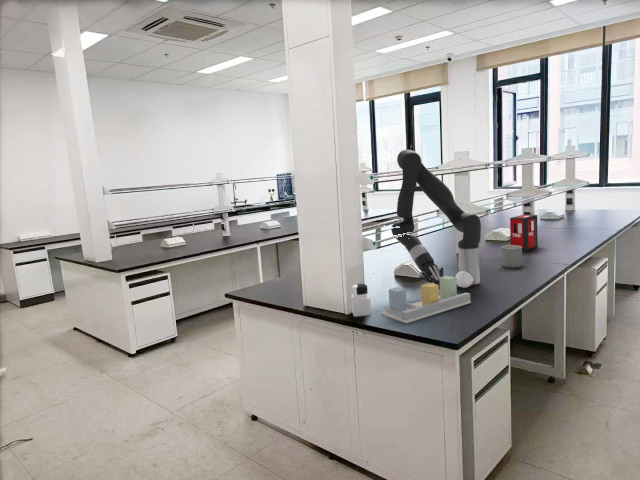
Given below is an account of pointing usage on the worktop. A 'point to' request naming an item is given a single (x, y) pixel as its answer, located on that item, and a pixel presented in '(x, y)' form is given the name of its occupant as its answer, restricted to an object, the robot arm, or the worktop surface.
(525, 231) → the cleaning product box
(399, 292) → the blue-grey block
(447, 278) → the pale green block
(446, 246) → the worktop surface
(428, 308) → the white divided tray
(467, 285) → the crumpled paper ball
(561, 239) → the worktop surface
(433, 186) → the robot arm
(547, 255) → the worktop surface
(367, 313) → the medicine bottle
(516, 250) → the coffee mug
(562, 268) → the worktop surface
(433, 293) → the yellow rectangular block
